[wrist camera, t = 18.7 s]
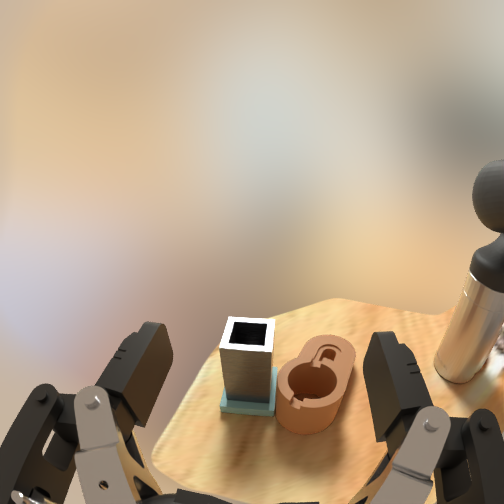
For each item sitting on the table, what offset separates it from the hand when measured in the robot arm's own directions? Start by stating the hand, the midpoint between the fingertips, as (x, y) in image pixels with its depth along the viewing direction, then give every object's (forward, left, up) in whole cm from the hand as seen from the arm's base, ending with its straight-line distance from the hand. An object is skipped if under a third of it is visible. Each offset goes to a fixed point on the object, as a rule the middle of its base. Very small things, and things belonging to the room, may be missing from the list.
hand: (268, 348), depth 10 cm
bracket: (-6, -18, -25) cm, 31 cm away
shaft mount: (+3, -16, -25) cm, 30 cm away
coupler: (+3, -16, -23) cm, 28 cm away
